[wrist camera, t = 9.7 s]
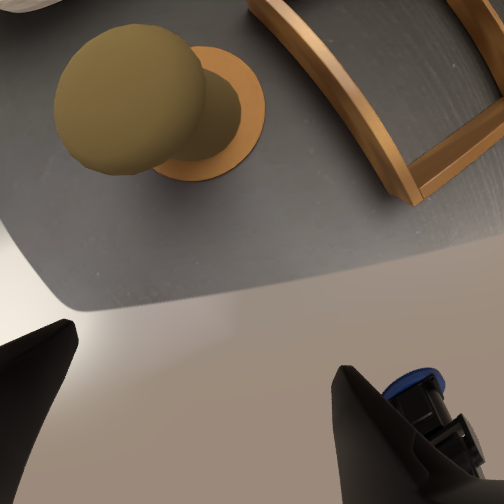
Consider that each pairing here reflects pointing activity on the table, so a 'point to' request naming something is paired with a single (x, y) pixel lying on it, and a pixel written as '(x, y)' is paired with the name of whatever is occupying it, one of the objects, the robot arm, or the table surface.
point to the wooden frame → (366, 120)
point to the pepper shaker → (142, 102)
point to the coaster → (248, 128)
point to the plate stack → (25, 5)
